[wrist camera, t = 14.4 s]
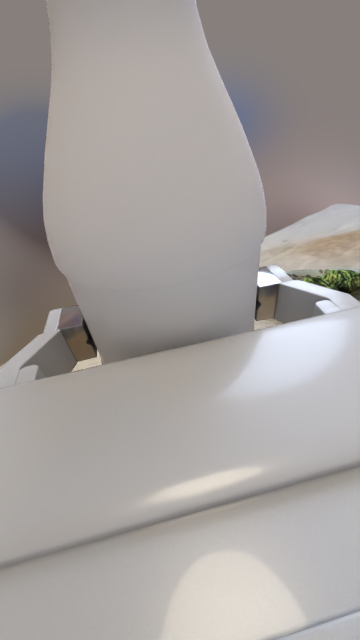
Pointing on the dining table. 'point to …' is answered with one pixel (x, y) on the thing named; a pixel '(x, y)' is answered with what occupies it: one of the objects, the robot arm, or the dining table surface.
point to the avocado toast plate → (332, 279)
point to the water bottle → (148, 179)
